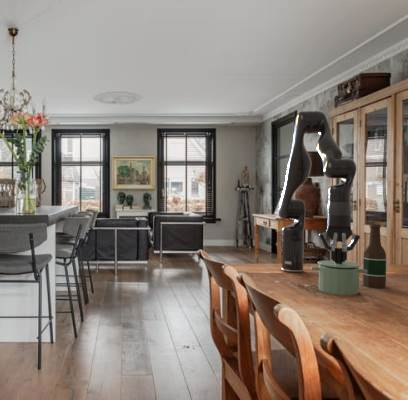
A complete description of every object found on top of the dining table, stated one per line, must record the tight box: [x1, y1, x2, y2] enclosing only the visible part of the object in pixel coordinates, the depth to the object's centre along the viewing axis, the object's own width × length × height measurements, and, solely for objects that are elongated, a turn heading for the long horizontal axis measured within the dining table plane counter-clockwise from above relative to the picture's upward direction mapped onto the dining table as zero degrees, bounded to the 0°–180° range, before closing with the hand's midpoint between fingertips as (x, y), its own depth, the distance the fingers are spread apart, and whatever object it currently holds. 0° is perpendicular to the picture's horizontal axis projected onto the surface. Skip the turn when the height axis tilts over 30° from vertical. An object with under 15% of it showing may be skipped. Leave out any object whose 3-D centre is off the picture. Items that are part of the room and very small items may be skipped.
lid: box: [317, 247, 361, 269], centre depth 159 cm, size 14×14×7 cm
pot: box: [310, 264, 367, 296], centre depth 159 cm, size 13×18×10 cm
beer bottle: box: [362, 223, 387, 289], centre depth 170 cm, size 8×8×24 cm
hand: (338, 261), depth 159 cm, fingers closed on lid, 2 cm apart
